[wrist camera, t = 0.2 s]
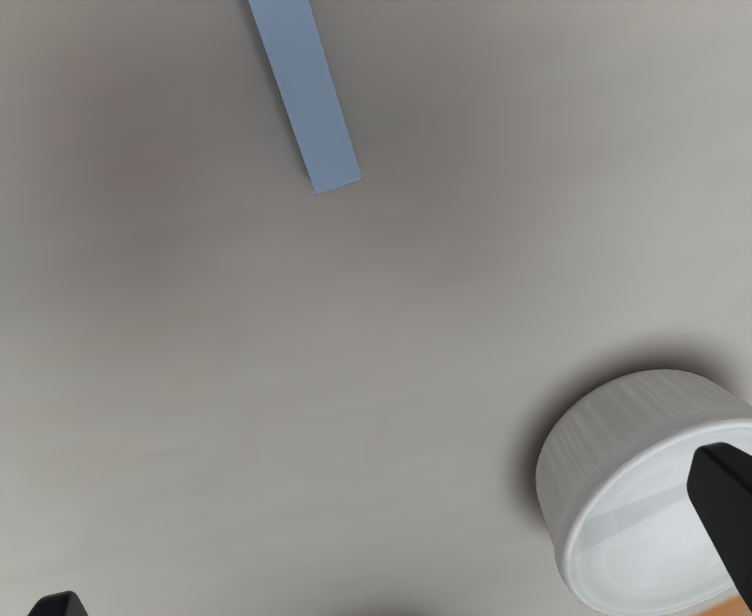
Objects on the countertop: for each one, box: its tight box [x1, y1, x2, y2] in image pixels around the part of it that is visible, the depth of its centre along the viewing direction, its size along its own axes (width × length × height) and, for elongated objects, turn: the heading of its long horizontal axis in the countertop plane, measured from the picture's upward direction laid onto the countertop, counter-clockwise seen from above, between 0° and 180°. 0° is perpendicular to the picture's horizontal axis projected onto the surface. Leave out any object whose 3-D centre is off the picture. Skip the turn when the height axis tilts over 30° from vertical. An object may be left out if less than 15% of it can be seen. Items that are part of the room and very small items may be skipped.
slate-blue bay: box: [248, 0, 362, 195], centre depth 18 cm, size 12×14×2 cm
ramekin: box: [536, 369, 752, 616], centre depth 30 cm, size 11×11×5 cm
